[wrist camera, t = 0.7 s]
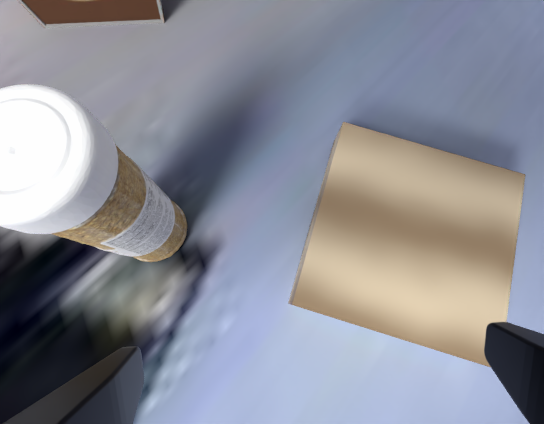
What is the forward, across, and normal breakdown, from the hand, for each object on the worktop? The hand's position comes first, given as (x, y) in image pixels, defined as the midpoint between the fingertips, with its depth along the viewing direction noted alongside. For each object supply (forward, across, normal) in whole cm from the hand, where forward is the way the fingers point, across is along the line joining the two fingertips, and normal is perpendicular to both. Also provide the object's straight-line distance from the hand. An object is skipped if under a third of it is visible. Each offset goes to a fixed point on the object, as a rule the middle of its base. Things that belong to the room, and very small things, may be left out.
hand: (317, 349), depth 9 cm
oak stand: (+14, -8, +2) cm, 16 cm away
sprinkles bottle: (+15, +8, 0) cm, 17 cm away
